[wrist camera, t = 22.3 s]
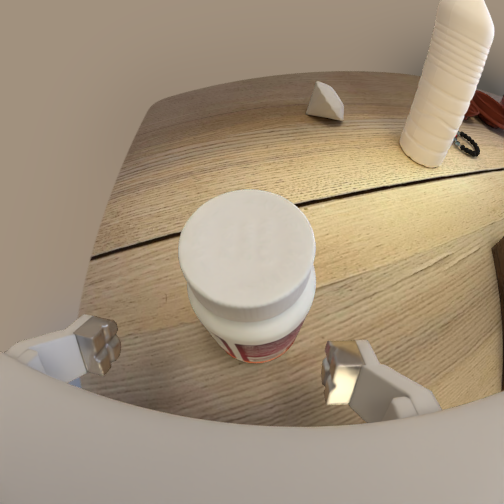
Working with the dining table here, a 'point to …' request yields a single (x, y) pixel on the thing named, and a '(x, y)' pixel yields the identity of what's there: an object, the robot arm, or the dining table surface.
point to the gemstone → (325, 103)
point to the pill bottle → (249, 271)
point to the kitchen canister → (502, 101)
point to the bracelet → (462, 147)
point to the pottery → (486, 110)
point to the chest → (500, 282)
